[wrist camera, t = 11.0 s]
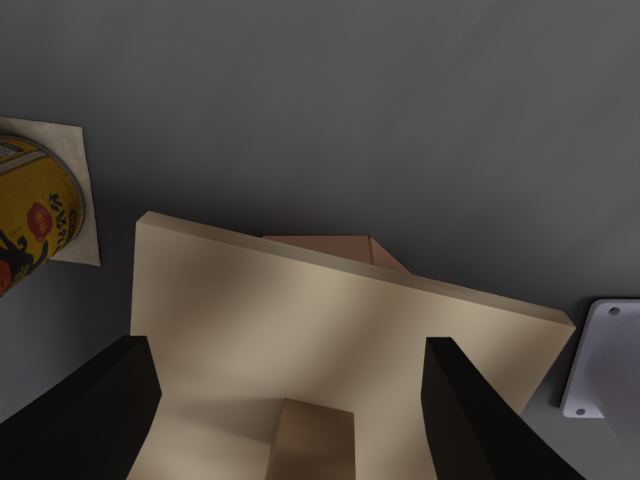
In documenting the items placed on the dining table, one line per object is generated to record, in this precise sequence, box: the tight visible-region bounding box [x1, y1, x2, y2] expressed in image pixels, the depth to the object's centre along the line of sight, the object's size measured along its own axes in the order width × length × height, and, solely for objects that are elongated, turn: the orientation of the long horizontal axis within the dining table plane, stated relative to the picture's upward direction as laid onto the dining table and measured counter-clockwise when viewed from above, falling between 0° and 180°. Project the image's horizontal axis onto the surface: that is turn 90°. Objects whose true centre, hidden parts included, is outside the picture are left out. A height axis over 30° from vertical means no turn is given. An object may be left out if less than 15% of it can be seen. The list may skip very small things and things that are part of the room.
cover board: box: [126, 211, 576, 480], centre depth 17 cm, size 16×16×6 cm
